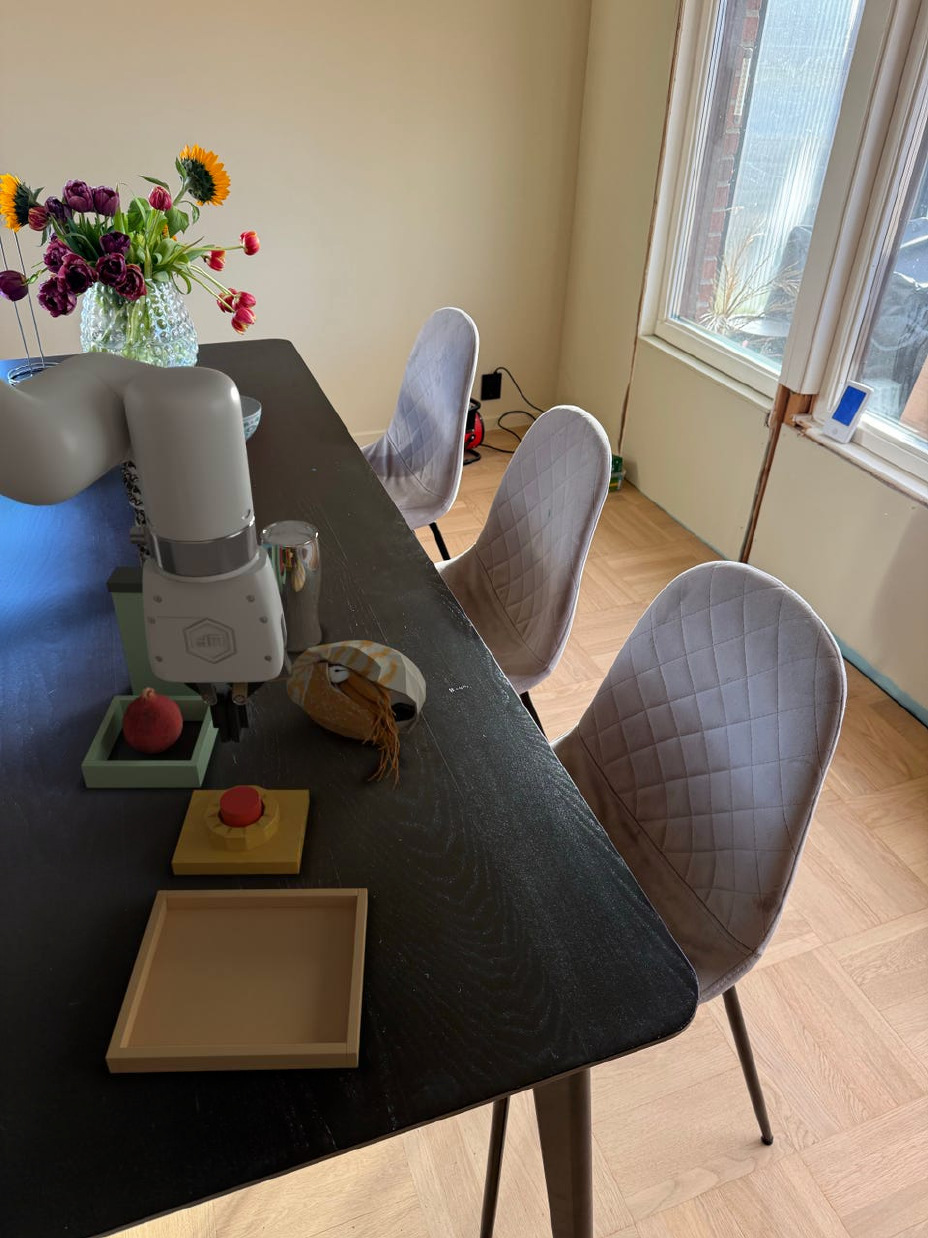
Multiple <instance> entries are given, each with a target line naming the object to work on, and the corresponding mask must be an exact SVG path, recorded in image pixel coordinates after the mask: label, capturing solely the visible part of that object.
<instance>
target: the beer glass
mask: <svg viewBox="0 0 928 1238" xmlns="http://www.w3.org/2000/svg"><path fill="white" fill-rule="evenodd" d="M318 532H319V531H318V529H317V527H316V526H314V525H313V524H311V523H309V522H307V521H301V520H281V521H277V522H273V523H270V524H268V525H267V526H265V527H263V529H262V530H261V531H260V546H263V547H264V548H265V550H266V552H267V554H268V557H269V559H270V562H271V565H272V568H273V571H274V575H275V578H276V582H277V586H278V590H279V594H280V598H281V603H282V608H283V613H284V619H285V625H286V633H287V643H286V647H285V649H286V652H291V653H292V652H294V653H298V652H305V651H306V650H307V649H308V648H311V647H315V646H319V644H320V642H321V641H322V638H323V635H322V629H321V627H320V623H319V617H318V606H319V605H318V603H319V597H320V589H321V582H322V581H321V580H322V557H321V556H322V555H321V547H320V542H319V535H318V534H319V533H318Z"/></svg>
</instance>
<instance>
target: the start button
mask: <svg viewBox="0 0 928 1238" xmlns="http://www.w3.org/2000/svg"><path fill="white" fill-rule="evenodd" d="M237 786H238V787H236V786H233V787H234V788H233V787H231V789H230V788H228V789H229V790H228V789H227V790H228V791H226V792H225V793H224V794H223V795H222V797H221V799H220V809H221V816H222V820H223V821H224V823H225V824H227V825H228V826H231V827H235V828H236V827H246V826H249V825H251V824H253V823H255V822H256V821H257V820H258V819H259V818H260V816H261V814H262V807H261V798H260V794H259V792H258V791H257V790H256V789H254V788H252V787H249V786H250V785H237Z"/></svg>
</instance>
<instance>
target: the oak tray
mask: <svg viewBox="0 0 928 1238" xmlns="http://www.w3.org/2000/svg"><path fill="white" fill-rule="evenodd" d="M367 917H368V888H279V889H278V888H277V889H276V888H274V889H272V888H271V889H270V888H269V889H183V890H182V889H175V890H174V889H172V890H171V889H169V890H168V889H161V890H160V889H159V890H157V892H156V896H155V899H154V902H153V905H152V908H151V911H150V915H149V919H148V921H147V924H146V927H145V930H144V933H143V938H142V941H141V943H140V946H139V951H138V953H137V956H136V959H135V962H134V966H133V969H132V973H131V975H130V979H129V982H128V984H127V987H126V992H125V995H124V997H123V1001H122V1004H121V1007H120V1010H119V1013H118V1017H117V1020H116V1023H115V1027H114V1029H113V1033H112V1036H111V1039H110V1043H109V1045H108V1049H107V1052H106V1055H105V1061H106V1064H107V1067H108V1070H109V1073H110V1074H121V1073H122V1074H123V1073H125V1074H127V1073H128V1074H129V1073H168V1072H211V1071H214V1072H215V1071H219V1072H220V1071H256V1070H257V1071H260V1070H298V1069H299V1070H303V1069H307V1070H308V1069H309V1070H310V1069H346V1068H347V1069H348V1068H350V1069H351V1068H352V1069H353V1068H354V1069H355V1068H358V1067H359V1051H360V1037H361V1035H360V1034H361V1020H362V1019H361V1018H362V1016H361V1015H362V1004H363V1003H362V1002H363V986H364V971H365V969H364V968H365V954H366V953H365V951H366V950H365V949H366V935H367V934H366V933H367V920H368V919H367Z"/></svg>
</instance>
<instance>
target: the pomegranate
mask: <svg viewBox="0 0 928 1238" xmlns="http://www.w3.org/2000/svg"><path fill="white" fill-rule="evenodd" d="M183 723H184V721H183V719H182V716H181V713H180V710H179V707H178V706H177V704H176V703H175V702H174V701H173V700H171V699H169V698H168V697H166V696H164V695H161V694H157V693H154V689H152V688H149V687H147V688H146V689H143V690H142V694H141V696H139V697H137V698H136V699H135V700H134V701H132V702H131V703H130V704H129V706H128V707H127V709H126V711H125V714H124V716H123V720H122V724H123V726H122V733H123V736H124V738H125V740H126V741H127V742H128V744H129V745H130V746H131V747H132V748H134V749H135V750H137V751H139V752H141V753H145V754H159V753H162V752H164V751H166V750H168V749H169V748H171V746H173V745H174V744H175V742H176V741H177V740H178V739H179V737H180V735H181V733H182V729H183Z"/></svg>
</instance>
